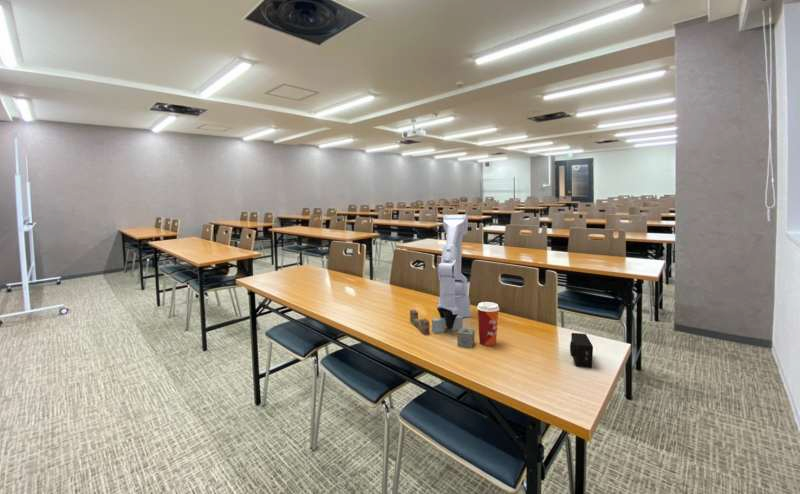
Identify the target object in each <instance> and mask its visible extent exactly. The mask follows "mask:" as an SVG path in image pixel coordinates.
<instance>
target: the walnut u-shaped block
mask: <svg viewBox="0 0 800 494" xmlns="http://www.w3.org/2000/svg"><path fill="white" fill-rule="evenodd" d="M409 314H410V315H409V322H410V323H411V324H412V325H413V326H414V327H415V328H417V329H418V330H419V332H421V333H422V334H423V335H424V336H428V335H430V320H428V319H427V318H426V317H425V318H420V319H419V312H418V311H417V310H416V309H410V310H409Z"/></svg>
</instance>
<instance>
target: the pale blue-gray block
mask: <svg viewBox="0 0 800 494" xmlns="http://www.w3.org/2000/svg"><path fill="white" fill-rule="evenodd" d="M463 318H464V317H462V316H457V317H456V319H455V321H454V325H453V329H450V330H451V331H452V332H455V331H459V329H460V328H464V327H463V321H464V319H463ZM431 325H432V326H431V331H432V333H433V334H441V333H445V327H446V326H445V325H446V320H445V318H441V317H440V318H432V319H431Z"/></svg>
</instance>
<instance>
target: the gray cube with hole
mask: <svg viewBox="0 0 800 494" xmlns="http://www.w3.org/2000/svg"><path fill="white" fill-rule="evenodd" d="M475 330H476V329H475V328H467V327H466V328H465V327H463V328H460V329H459V330H457V332H456V333H457V339H456V340H457V347H461V348H469V349H473V348H474V347H473V346H474V345H475V335H476V334H475Z"/></svg>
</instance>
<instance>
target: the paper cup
mask: <svg viewBox="0 0 800 494" xmlns="http://www.w3.org/2000/svg"><path fill="white" fill-rule="evenodd" d="M476 309H477V319H478V338H479V339H478V340H479V344H481V345H482V346H485V347H493V346H495V345H496V344H497V336H498V335H497V333H498V325H499V324H498V323H499V322H498V321H499V311H500V307H499V305H498V303H496V302H491V301H481V302H479V303H478V304H477V306H476Z"/></svg>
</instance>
